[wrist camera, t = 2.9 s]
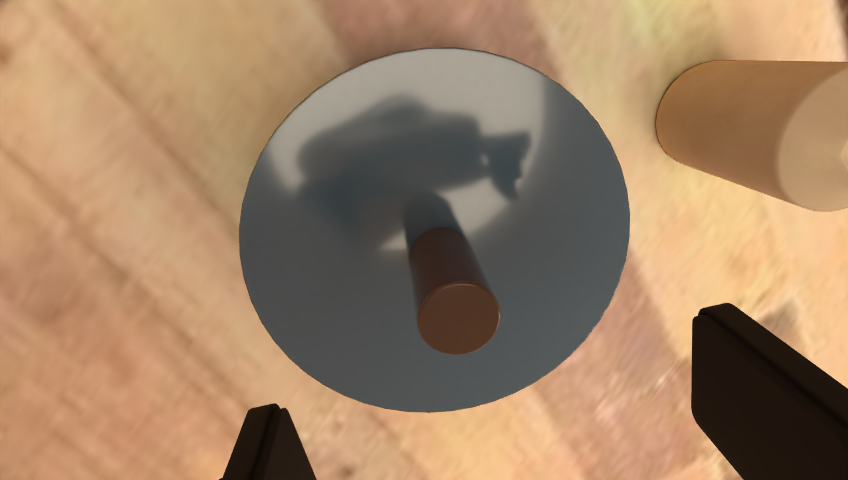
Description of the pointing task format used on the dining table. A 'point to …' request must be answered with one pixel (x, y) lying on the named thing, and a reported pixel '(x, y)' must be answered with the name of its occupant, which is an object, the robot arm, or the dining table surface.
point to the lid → (434, 229)
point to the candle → (763, 127)
